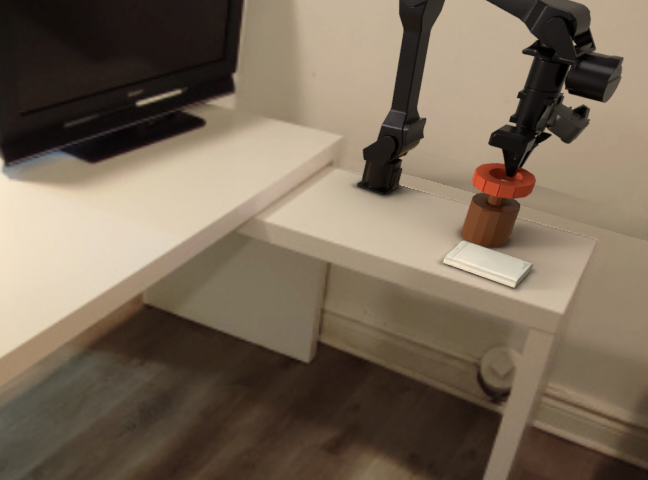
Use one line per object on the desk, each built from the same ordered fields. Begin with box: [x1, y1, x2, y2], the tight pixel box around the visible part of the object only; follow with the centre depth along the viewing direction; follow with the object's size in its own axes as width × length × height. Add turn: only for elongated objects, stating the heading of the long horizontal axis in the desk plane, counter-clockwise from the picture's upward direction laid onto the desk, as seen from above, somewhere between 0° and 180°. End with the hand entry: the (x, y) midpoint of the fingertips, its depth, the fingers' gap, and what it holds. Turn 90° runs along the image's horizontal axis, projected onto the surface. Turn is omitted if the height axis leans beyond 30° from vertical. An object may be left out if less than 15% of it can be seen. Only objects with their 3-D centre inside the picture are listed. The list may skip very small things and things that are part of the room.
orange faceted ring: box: [471, 162, 537, 200], centre depth 140 cm, size 10×10×2 cm
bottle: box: [460, 192, 521, 249], centre depth 144 cm, size 8×8×10 cm
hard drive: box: [443, 239, 534, 289], centre depth 138 cm, size 2×8×12 cm
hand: (512, 174), depth 142 cm, fingers closed on orange faceted ring, 2 cm apart
